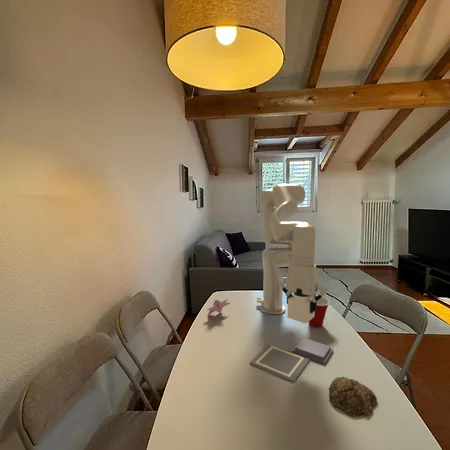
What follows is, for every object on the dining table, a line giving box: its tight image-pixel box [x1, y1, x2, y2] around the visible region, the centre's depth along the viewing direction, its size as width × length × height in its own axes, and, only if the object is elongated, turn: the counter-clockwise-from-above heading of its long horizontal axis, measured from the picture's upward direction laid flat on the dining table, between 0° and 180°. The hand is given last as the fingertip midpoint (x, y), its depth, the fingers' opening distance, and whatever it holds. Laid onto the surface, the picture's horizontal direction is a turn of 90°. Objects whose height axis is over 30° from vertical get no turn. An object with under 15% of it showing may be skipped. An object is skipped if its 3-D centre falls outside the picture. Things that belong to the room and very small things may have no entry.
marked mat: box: [249, 344, 311, 383], centre depth 97 cm, size 16×14×1 cm
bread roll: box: [328, 376, 378, 418], centre depth 80 cm, size 13×12×5 cm
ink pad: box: [291, 337, 334, 365], centre depth 103 cm, size 12×10×2 cm
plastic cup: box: [308, 296, 331, 329], centre depth 124 cm, size 11×11×12 cm
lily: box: [206, 298, 231, 321], centre depth 132 cm, size 12×12×10 cm
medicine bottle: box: [286, 288, 315, 324], centre depth 98 cm, size 7×7×12 cm
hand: (301, 308), depth 99 cm, fingers closed on medicine bottle, 7 cm apart
